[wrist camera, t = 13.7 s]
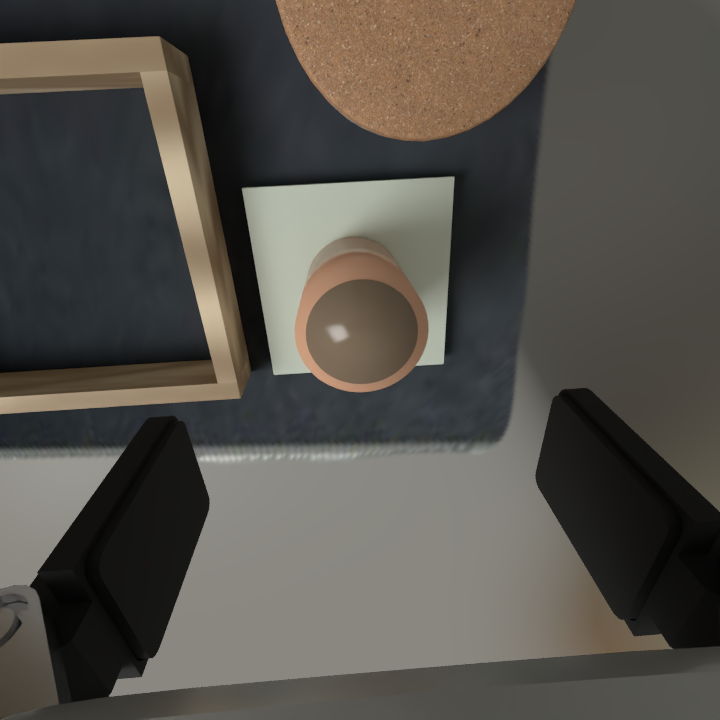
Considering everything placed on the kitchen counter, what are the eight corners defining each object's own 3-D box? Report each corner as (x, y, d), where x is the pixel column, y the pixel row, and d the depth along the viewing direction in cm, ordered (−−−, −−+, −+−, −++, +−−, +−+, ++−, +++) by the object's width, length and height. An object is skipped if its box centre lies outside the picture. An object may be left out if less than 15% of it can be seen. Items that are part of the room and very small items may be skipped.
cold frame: (-225, 75, 19) (-333, 59, 16) (187, 56, 20) (159, 36, 17) (-35, 390, 28) (-82, 419, 25) (251, 372, 28) (240, 398, 25)
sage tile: (245, 187, 23) (241, 188, 22) (450, 176, 23) (454, 176, 22) (275, 367, 28) (273, 374, 27) (440, 357, 28) (443, 363, 27)
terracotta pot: (301, 239, 23) (286, 271, 16) (401, 234, 23) (432, 264, 16) (311, 332, 26) (301, 397, 18) (401, 327, 26) (426, 389, 19)
